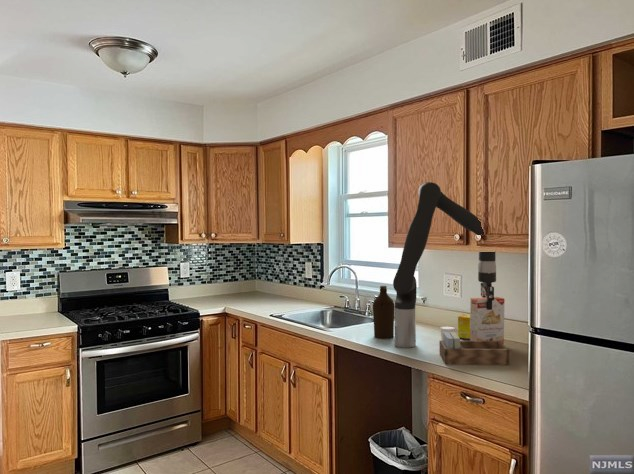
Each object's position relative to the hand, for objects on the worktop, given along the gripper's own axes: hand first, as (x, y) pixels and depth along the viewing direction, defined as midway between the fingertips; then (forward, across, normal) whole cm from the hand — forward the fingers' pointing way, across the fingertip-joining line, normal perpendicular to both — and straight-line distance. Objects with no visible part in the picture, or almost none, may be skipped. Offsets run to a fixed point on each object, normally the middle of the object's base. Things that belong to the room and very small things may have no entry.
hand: (487, 307), depth 219 cm
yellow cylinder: (+18, -16, -6) cm, 25 cm away
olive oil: (+18, -19, -45) cm, 52 cm away
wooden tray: (+18, +20, -11) cm, 29 cm away
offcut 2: (+18, +20, -18) cm, 32 cm away
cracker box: (+17, 0, 0) cm, 17 cm away
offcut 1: (+18, +20, -20) cm, 34 cm away
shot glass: (+18, -8, -16) cm, 25 cm away
